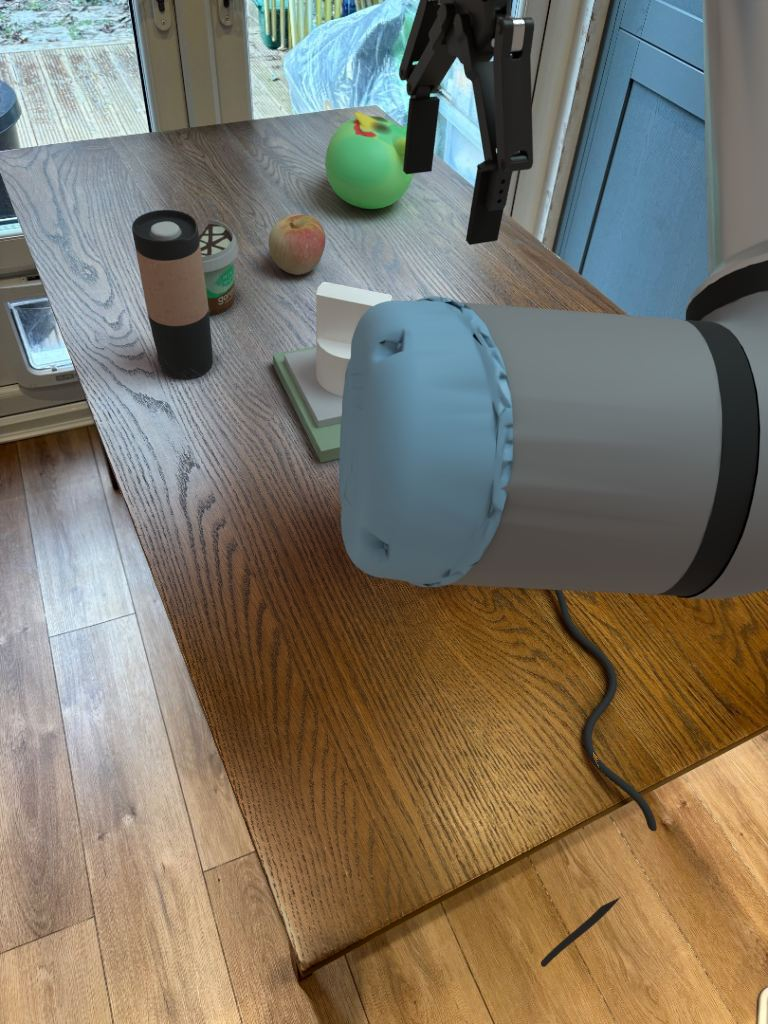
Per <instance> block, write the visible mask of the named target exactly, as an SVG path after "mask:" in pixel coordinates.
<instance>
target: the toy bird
mask: <svg viewBox="0 0 768 1024" xmlns="http://www.w3.org/2000/svg"><path fill="white" fill-rule="evenodd" d="M353 114H354V117H353V118H351V119H349V120H347V121H345V122H344V123H342V125H340V126H339V127H337V129H336V130H335V132H334V133H333V135H332V136H331V138H330V140H329V142H328V145H327V149H326V151H325V152H326V153H325V160H324V161H325V163H324V164H325V173H326V177H327V181H328V183H329V186H330V187H331V189H332V190H333V192H334V193H335V194H336V195H337V196H338V197H339V198H340V199H342V200H343V201H344V202H346V203H348V204H349V205H351V206H354V207H356V208H359V209H363V210H364V209H365V210H379V209H383V208H386V207H389V206H391V205H393V204H394V203H396V202H398V201H399V200H400V198H401V197H403V196H404V195H405V193H406V192H407V191H408V189H409V187H410V186H411V183H412V182H413V178H414V174H405V173H404V171H403V166H404V154H405V143H406V131H407V124H405V125H403V126H399V125H398V124H396V123H395V122H393V121H392V120H390V119H388V118H385V117H382V116H377V115H368V114H365V113H363V112H359V111H355V112H354V113H353Z"/></svg>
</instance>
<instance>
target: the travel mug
mask: <svg viewBox="0 0 768 1024" xmlns="http://www.w3.org/2000/svg"><path fill="white" fill-rule="evenodd" d="M131 230H132V237H133V243H134V247H135V253H136V259H137V264H138V270H139V275H140V280H141V286H142V291H143V298H144V302H145V308H146V312H147V318H148V321H149V326H150V330H151V333H152V334H151V335H152V338H153V339H152V340H153V343H154V347H155V352H156V356H157V360H158V364H159V367H160V370H161V371H162V372H163V374H165V375H166V376H168V377H170V378H173V379H176V380H193V379H197V378H200V377H203V376H204V375H205V374H207V373H208V372H209V371H210V370H211V368H212V367H213V364H214V353H213V342H212V332H211V321H210V320H211V318H210V316H209V308H208V300H207V292H206V285H205V278H204V270H203V263H202V256H201V248H200V241H199V236H200V233H199V227H198V223H197V221H196V219H195V218H194V217H193V216H192V215H190V214H189V213H186V212H184V211H180V210H175V209H157V210H152V211H148V212H145V213H143V214H141V215H139V216H138V217H136V218H135V219H134V220H133V222H132V225H131Z"/></svg>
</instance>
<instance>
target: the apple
mask: <svg viewBox="0 0 768 1024" xmlns="http://www.w3.org/2000/svg"><path fill="white" fill-rule="evenodd" d="M325 247H326V232H325V230H324V228H323V226H322V224H321V223H320V221H319V220H318V219H317V218H315V217H313V216H312V215H309V214H303V213H290V214H288V215H287V214H286V215H285V216H283V217H281V218H280V219H278V220H277V221H276V222H275V223H274V225H273V226H272V228H271V230H270V232H269V235H268V250H269V254H270V256H271V258H272V261H273V262H274V263H275V265H276V266H277V267H278V268H280V269H281V270H283V271H284V272H286V273H288V274H291V275H296V276H300V275H304V274H307V273H309V272H311V271H312V270H313V269H315V268H316V267H317V265H318V264H319V263H320V261H321V260H322V257H323V255H324V251H325Z"/></svg>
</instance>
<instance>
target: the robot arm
mask: <svg viewBox="0 0 768 1024" xmlns="http://www.w3.org/2000/svg"><path fill="white" fill-rule="evenodd" d="M701 1H702V47H703V48H702V51H703V93H704V94H703V95H704V97H703V99H704V143H705V144H704V147H705V149H704V150H705V191H706V192H705V194H706V195H705V197H706V239H707V240H706V241H707V278H706V279H705V280H704V281H703V282H702V283H701V284H700V285H699V286H697V288H696V289H695V290H694V291H693V292H692V293H691V295H690V296H689V298H688V300H687V302H686V305H685V319H681V318H669V317H658V316H646V315H645V316H644V315H631V314H630V315H629V314H617V313H605V312H594V311H593V312H591V311H579V310H567V309H554V308H553V309H552V308H542V307H541V308H540V307H529V306H514V305H504V304H502V305H501V304H489V303H477V302H464V301H463V302H462V301H456V300H454V299H453V298H450V297H444V296H437V295H435V296H425V297H422V298H419V299H415V300H392V301H386V302H382V303H379V304H376V305H375V306H373V307H371V308H370V309H369V310H367V311H366V312H365V314H364V315H363V316H362V317H361V319H360V320H359V322H358V324H357V326H356V329H355V331H354V334H353V338H352V342H351V357H350V360H349V362H348V366H347V370H346V374H345V384H344V391H343V401H342V416H341V427H340V455H339V459H338V492H339V503H340V504H341V509H340V510H341V512H340V529H341V536H342V539H343V545H344V549H345V551H346V553H347V555H348V557H349V559H350V561H351V562H352V563H353V565H355V566H356V567H357V569H359V570H360V571H362V572H363V573H365V574H366V575H369V576H372V577H375V578H379V579H386V580H387V579H388V580H395V581H402V582H406V583H408V584H409V585H413V586H416V587H419V588H443V587H445V586H448V585H452V586H470V587H488V588H489V587H491V588H492V587H493V588H510V589H512V588H513V589H533V590H548V591H549V590H552V591H554V593H555V595H556V598H557V601H558V606H559V610H560V614H561V616H562V619H563V622H564V624H565V625H566V627H567V629H568V630H569V632H570V634H572V635H573V636H574V638H575V639H576V640H577V641H578V642H579V643H580V644H581V645H583V646H584V647H585V648H586V649H587V650H588V651H589V652H591V653H592V654H593V655H594V656H595V657H596V659H598V660H599V662H601V663H602V665H603V667H604V669H605V671H606V674H607V676H608V687H607V691H606V694H605V696H604V697H603V698H602V699H601V701H600V703H598V705H597V706H596V708H595V709H594V711H592V713H591V714H590V715H589V716H588V719H587V720H586V723H585V725H584V728H583V735H582V736H583V737H582V739H583V746H584V749H585V751H586V754H587V756H588V758H589V760H590V761H591V763H592V764H593V765H594V767H595V768H596V769H597V770H599V772H600V773H601V774H602V775H603V776H605V778H607V777H608V778H609V779H608V778H607V779H608V780H609V781H610V782H612V783H613V782H614V783H613V784H614V785H615V786H617V787H618V786H619V787H618V788H619V789H621V790H622V791H623V792H624V793H626V795H628V796H629V797H630V798H631V799H632V800H633V801H634V802H635V804H637V806H638V807H639V809H640V811H641V812H642V814H643V816H644V818H645V823H646V826H647V828H648V829H649V830H650V831H651V832H656V831H657V828H658V826H657V821H656V818H655V815H654V813H653V810H652V808H651V806H650V805H649V803H648V802H647V801H646V799H645V798H644V797H643V796H642V795H641V794H640V793H639V792H638V791H637V790H636V789H635V788H634V787H633V786H632V785H631V784H629V783H628V782H627V781H626V780H624V779H623V778H622V777H620V776H619V775H618V774H616V773H615V772H614V771H613V770H611V769H610V768H609V767H608V766H607V765H606V764H605V763H604V762H603V761H602V760H601V759H600V758H599V756H598V754H597V752H596V749H595V747H594V745H593V744H594V743H593V731H594V727H595V725H596V724H597V722H598V720H599V718H600V717H601V716H602V714H604V712H605V710H606V709H607V708H608V707H609V705H610V704H611V703H612V702H613V699H614V697H615V695H616V692H617V689H618V688H617V687H618V680H617V678H618V677H617V673H616V670H615V668H614V666H613V664H612V662H611V661H610V660H609V658H608V657H607V656H606V655H605V653H604V652H602V650H601V649H600V648H599V647H597V646H596V645H595V644H594V643H592V642H591V641H590V640H589V639H588V638H587V637H586V636H585V635H584V634H582V633H581V631H580V630H579V629H578V628H577V626H576V625H575V624H574V622H573V620H572V618H571V615H570V613H569V609H568V604H567V601H566V598H565V595H564V591H570V592H572V591H573V592H590V593H591V592H592V593H609V594H628V595H630V594H632V595H648V596H671V597H672V596H673V597H677V598H680V599H692V600H726V599H727V600H728V599H733V598H737V597H742V596H748V595H752V594H757V593H761V592H765V591H767V590H768V0H701ZM511 8H512V0H419V2H418V5H417V9H416V11H415V15H414V17H413V22H412V25H411V28H410V30H409V31H410V32H409V35H408V39H407V41H406V45H405V48H404V51H403V54H402V58H401V62H400V65H399V69H398V77H399V80H400V81H405V82H406V85H405V87H406V88H405V89H406V94H407V95H408V96H409V99H408V109H407V110H408V111H407V120H406V121H407V123H406V125H407V131H406V143H405V154H404V166H403V171H404V173H405V174H413V175H415V174H422V173H429V172H432V171H433V163H434V154H435V145H436V136H437V130H438V129H437V127H438V120H439V119H438V118H439V111H440V101H441V99H440V98H439V97H438V96H431V95H434V94H442V93H443V91H442V86H441V83H442V82H443V80H445V77H446V76H447V74H448V73H449V70H450V69H451V67H452V66H453V64H454V63H455V62H456V59H457V60H458V61H459V62H460V64H462V66H463V72H464V75H465V76H464V77H466V78H467V79H468V80H469V81H470V82H471V85H472V91H473V97H474V103H475V110H476V116H477V117H476V118H477V122H478V129H479V134H480V142H481V147H482V153H483V159H484V160H483V161H481V162H480V163H478V164H477V165H476V175H475V180H474V187H473V192H472V193H473V194H472V200H471V204H470V205H471V206H470V212H469V217H468V223H467V231H466V236H465V241H466V243H467V244H468V245H469V246H472V245H478V244H479V245H480V244H485V243H491V242H498V240H499V234H500V230H501V225H502V220H503V215H504V209H505V207H506V206H507V202H508V197H509V190H510V186H511V181H512V176H513V174H514V172H520V171H527V170H530V169H532V167H533V165H534V141H533V139H534V138H533V137H534V136H533V135H534V134H533V105H532V104H533V103H532V101H533V99H532V98H533V97H532V66H531V65H532V64H531V63H532V61H531V55H532V48H533V40H534V32H535V21H534V18H533V17H532V16H528V17H527V16H526V17H514V16H512V9H511ZM415 62H417V63H416V64H415ZM593 752H594V754H595V755H596V756H597V757H598V758H599V759H600V760H599V759H598V758H597V759H598V760H597V761H598V762H597V764H598V765H599V768H598V766H597V764H596V762H595V760H594V758H593ZM601 770H602V771H601ZM602 772H603V773H604V774H605V775H604V774H603V773H602ZM620 899H621V897H616V898H615V899H613V900H611V901H609V902H607V903H604V904H603V905H600V906H599V908H598V909H597V910H595V912H594V913H593V914H592V915H591V916H590V917H588V918H587V919H586V920H585V921H584V922H583V923H582V924H580V925H579V926H578V927H577V928H576V929H575V930H574V931H572V932H571V933H569V935H567V936H566V937H565V938H564V939H563V940H562V941H561V942H560V943H558V944H557V945H556V946H555V947H554V948H553V949H552V950H551V951H550V952H548V954H547V955H545V957H544V958H542V960H540V966H541V967H543V968H545V967H547V966H548V964H550V963H551V962H552V961H553V960H554V959H555V958H556V957H557V956H558V955H559V954H560V953H562V952H563V951H564V950H565V949H566V948H567V947H569V946H570V945H571V944H572V943H574V942H575V941H577V940H578V939H579V938H580V937H581V936H583V935H584V934H585V933H586V932H587V931H589V930H590V929H591V928H592V927H593V926H594V925H596V923H598V922H599V921H600V920H601V919H602V918H603V917H604V916H605V915H606V914H608V912H610V911H611V910H612V908H613V907H614V906H615V905H616V904H617V903H618V901H619V900H620Z"/></svg>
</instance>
